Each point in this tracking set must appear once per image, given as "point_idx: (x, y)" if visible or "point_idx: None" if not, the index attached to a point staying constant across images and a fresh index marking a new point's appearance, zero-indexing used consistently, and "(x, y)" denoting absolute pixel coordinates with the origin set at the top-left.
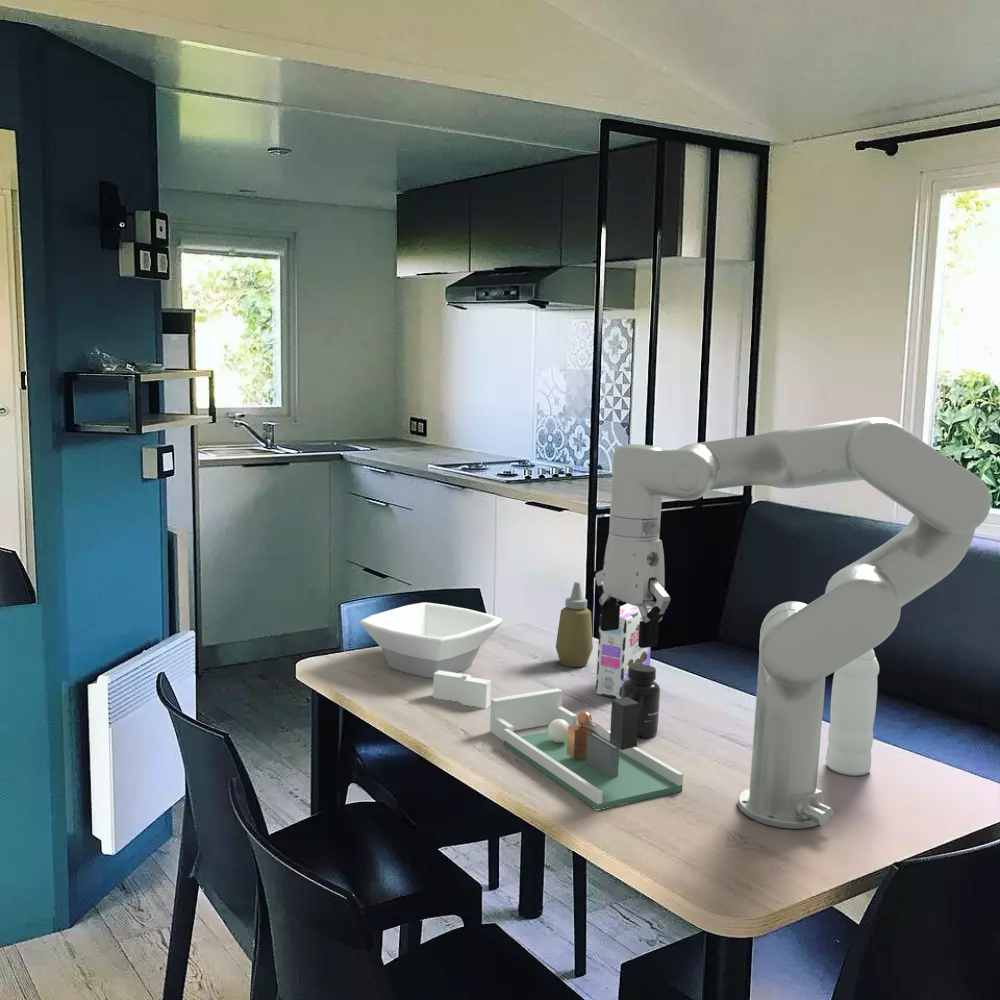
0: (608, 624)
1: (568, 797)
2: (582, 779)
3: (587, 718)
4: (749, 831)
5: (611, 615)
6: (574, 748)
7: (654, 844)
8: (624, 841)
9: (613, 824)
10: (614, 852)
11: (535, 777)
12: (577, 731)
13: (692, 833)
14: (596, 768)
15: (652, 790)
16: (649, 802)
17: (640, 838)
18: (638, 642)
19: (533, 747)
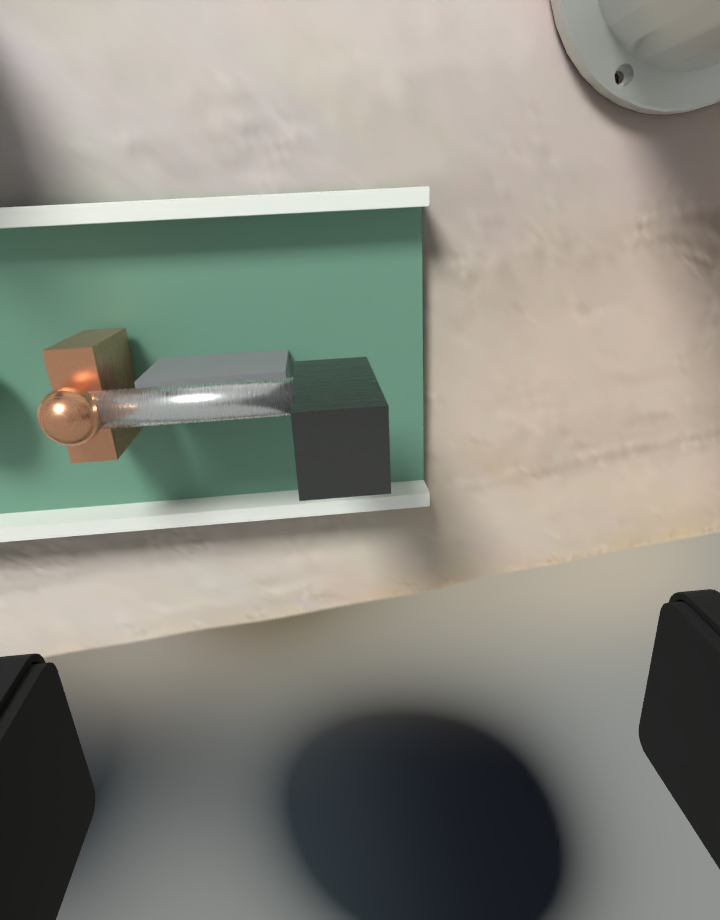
0: (61, 817)
1: None
2: (340, 504)
3: (96, 422)
4: (709, 175)
5: (6, 907)
6: (136, 434)
7: (618, 450)
8: (572, 502)
9: (496, 484)
10: (598, 543)
11: (185, 533)
12: (117, 446)
13: (629, 334)
14: None
15: (415, 308)
16: (437, 334)
17: (580, 464)
18: (659, 771)
19: (76, 528)
